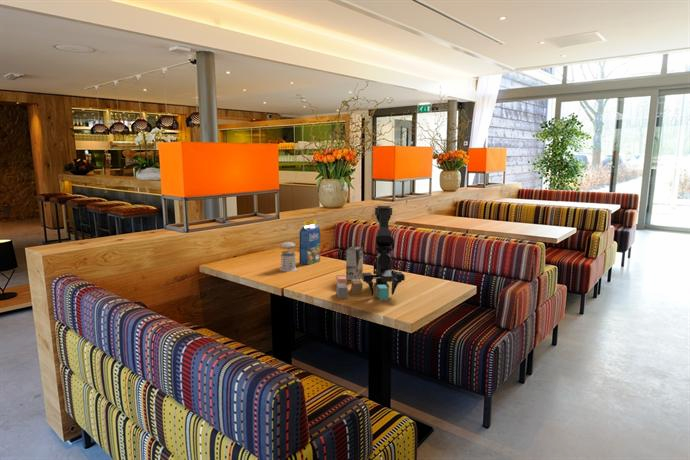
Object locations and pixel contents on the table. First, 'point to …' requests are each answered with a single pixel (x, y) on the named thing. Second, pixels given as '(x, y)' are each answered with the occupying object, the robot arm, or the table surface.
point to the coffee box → (354, 263)
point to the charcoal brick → (341, 290)
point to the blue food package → (309, 243)
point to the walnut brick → (356, 286)
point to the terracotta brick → (341, 279)
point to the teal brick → (382, 292)
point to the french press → (288, 257)
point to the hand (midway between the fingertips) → (382, 295)
